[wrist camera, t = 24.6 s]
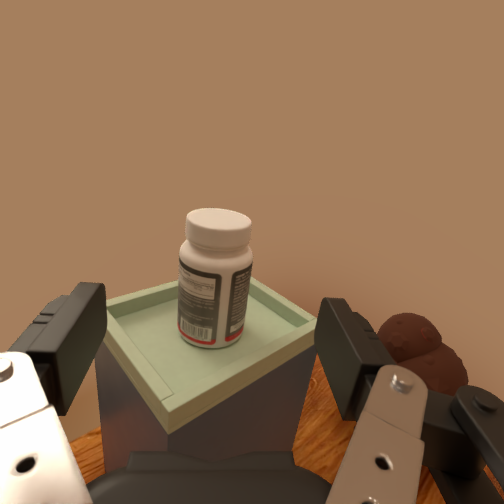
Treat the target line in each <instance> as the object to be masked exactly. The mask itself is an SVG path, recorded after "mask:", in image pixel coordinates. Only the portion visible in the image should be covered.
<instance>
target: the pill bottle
mask: <svg viewBox="0 0 504 504" xmlns="http://www.w3.org/2000/svg"><path fill="white" fill-rule="evenodd" d="M251 226H252V222H251V220H250V219H249V218H248V217H247V216H245V215H243V214H241V213H238V212H235V211H231V210H226V209H217V208H203V209H197V210H193V211H191V212H190V213H188V214H187V217H186V229H185V235H186V239H187V240H186V241H185V242H184V243H183V244H182V246H181V248H180V253H179V278H178V314H177V326H178V331H179V333H180V335H181V336H182V338H183V339H185V340H186V341H187V342H189V343H191V344H193V345H195V346H198V347H203V348H220V347H225V346H228V345H230V344H232V343H234V342H235V341H237V340H238V339H239V338H240V336H241V335H242V333H243V329H244V323H245V316H246V309H247V301H248V293H249V286H250V278H251V269H252V262H253V253H252V250H251V249H250V247H249V246H248V243H249V240H250V235H251Z"/></svg>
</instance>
